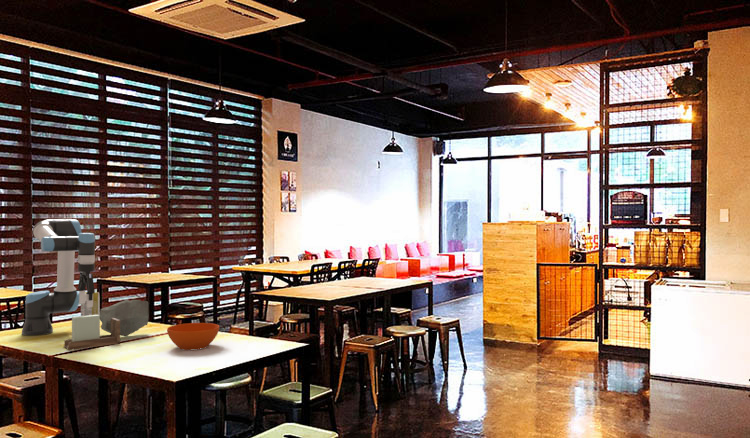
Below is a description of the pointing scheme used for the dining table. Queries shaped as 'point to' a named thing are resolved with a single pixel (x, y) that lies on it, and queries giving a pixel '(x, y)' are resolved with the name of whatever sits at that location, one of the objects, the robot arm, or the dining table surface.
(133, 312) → the rock
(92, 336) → the door panel
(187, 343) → the bowl
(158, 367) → the dining table surface
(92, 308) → the juice carton
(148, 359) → the dining table surface
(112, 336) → the track
